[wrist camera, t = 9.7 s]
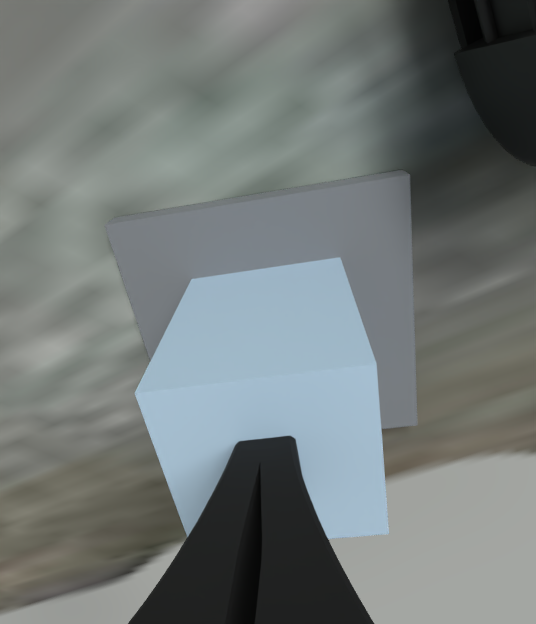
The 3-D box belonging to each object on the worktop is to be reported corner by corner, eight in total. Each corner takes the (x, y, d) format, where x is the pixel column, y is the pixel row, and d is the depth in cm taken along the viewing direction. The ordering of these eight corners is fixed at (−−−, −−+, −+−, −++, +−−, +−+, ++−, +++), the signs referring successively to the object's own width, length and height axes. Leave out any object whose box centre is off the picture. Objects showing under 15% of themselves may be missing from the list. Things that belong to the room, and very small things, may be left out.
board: (402, 169, 15) (409, 174, 14) (410, 409, 19) (417, 425, 18) (114, 217, 16) (104, 224, 15) (184, 434, 20) (180, 450, 19)
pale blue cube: (340, 257, 15) (376, 363, 9) (353, 382, 17) (388, 534, 11) (191, 279, 16) (134, 392, 10) (222, 398, 18) (192, 550, 12)
